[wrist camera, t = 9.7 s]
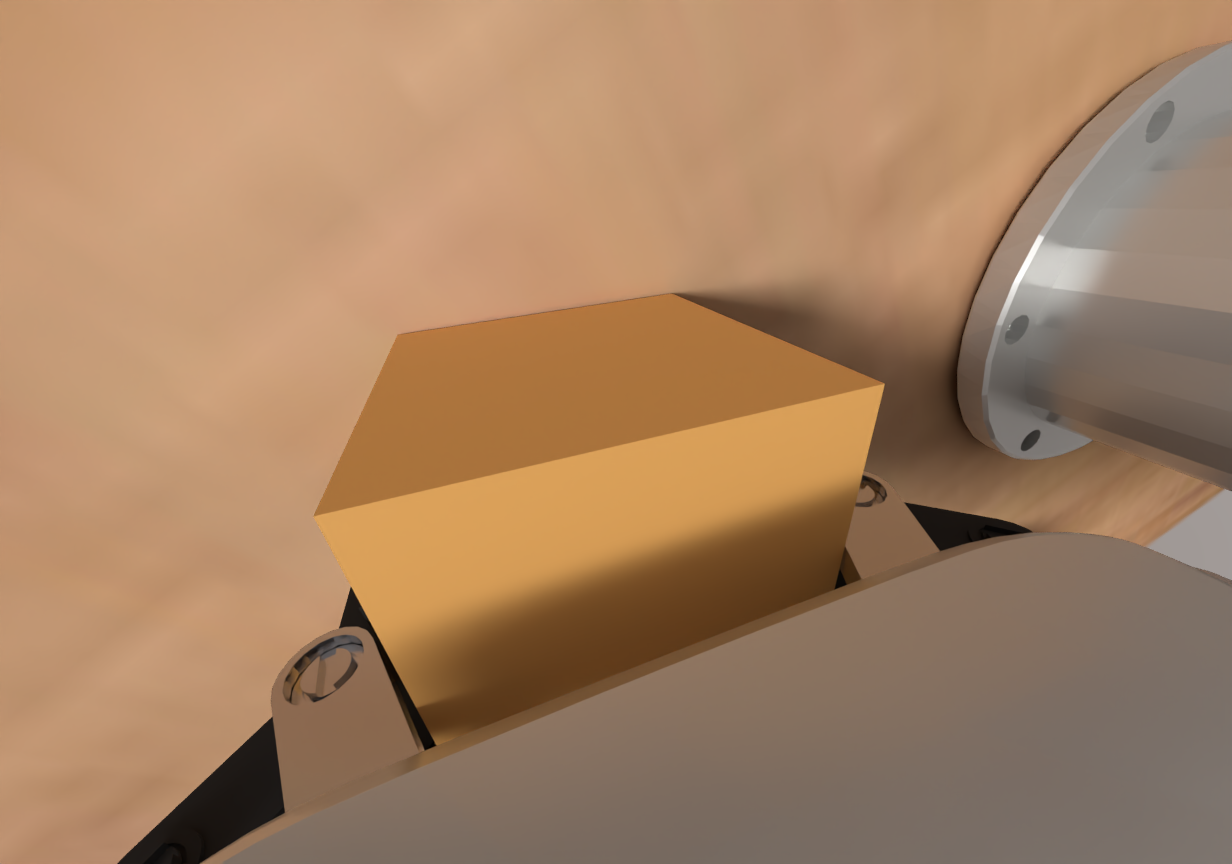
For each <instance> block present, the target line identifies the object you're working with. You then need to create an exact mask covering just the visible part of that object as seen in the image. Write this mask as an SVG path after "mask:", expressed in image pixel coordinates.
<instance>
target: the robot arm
mask: <svg viewBox="0 0 1232 864" xmlns="http://www.w3.org/2000/svg"><path fill="white" fill-rule="evenodd" d="M957 397H958V402H959V405H960V409H961V413H962V417H963V421H964V423H965V424H966V426H967V427H968V429H969V430H970V432H971V434H972V435H973V437H975V438H976V439H978V440H979V441H980V442H982V443H983V444H985V445H986V446H988V447H990V448H992V449H994V450H997V451H999V452H1001V453H1003V454H1006V455H1008V456H1010V457H1012V458H1015V459H1023V460H1039V459H1045V458H1050V457H1055V456H1060V455H1062V454H1065V453H1067V452H1070V451H1072V450H1075V449H1078V448H1080V447H1082V446H1084V445H1086V444H1088V443H1089V442H1091V441H1093V440H1094V441H1097V442H1100V443H1103V444H1105V445H1108V446H1111V447H1113V448H1116V449H1119V450H1121V451H1124V452H1127V453H1130V454H1132V455H1135V456H1138V457H1140V458H1143V459H1146V460H1148V461H1151V462H1154V463H1157V464H1159V465H1162V466H1165V467H1167V468H1170V469H1173V470H1175V471H1178V472H1181V473H1184V474H1186V475H1189V476H1192V477H1194V478H1197V479H1200V480H1202V481H1205V482H1208V483H1211V484H1213V485H1216V486H1219V487H1221V488H1224V489H1227V490H1229V491H1232V40H1231V41H1227V42H1222V43H1217V44H1213V45H1208V46H1203V47H1198V48H1195V49H1193V50H1191V51H1189V52H1186V53H1184V54H1182V55H1180V56H1177V57H1175V58H1173V59H1171V60H1169V61H1166V62H1164V63H1162V64H1161V65H1159V66H1158V67H1156V68H1155V69H1153V70H1152V71H1150V72H1149V73H1148V74H1146V75H1145V76H1143V77H1142V78H1140V79H1139V80H1138V81H1136V82H1135V83H1133V84H1132V85H1130V86H1129V87H1127V88H1126V89H1125V90H1124V91H1122V92H1121V93H1120V94H1119V95H1118V96H1117V97H1116V98H1115V99H1114V100H1113V101H1112V102H1111V103H1110V104H1108V105H1107V106H1106V107H1105V108H1104V109H1103V110H1102V111H1101V112H1100V113H1099V114H1098V115H1097V116H1095V117H1094V118H1093V119H1092V120H1091V121H1090V122H1089V123H1088V124H1087V125H1086V126H1085V127H1084V128H1083V129H1082V130H1081V131H1080V132H1079V133H1078V134H1077V136H1076V137H1075V138H1074V139H1073V140H1072V141H1071V142H1070V144H1069V145H1068V146H1067V147H1066V148H1065V149H1064V151H1063V152H1062V153H1061V154H1060V155H1059V156H1058V158H1057V159H1056V160H1055V161H1054V162H1053V163H1052V165H1051V166H1050V167H1049V168H1048V169H1047V171H1046V172H1045V174H1044V175H1043V176H1042V178H1041V179H1040V181H1039V182H1038V184H1037V185H1036V186H1035V188H1034V189H1033V191H1032V192H1031V194H1030V195H1029V196H1028V198H1027V199H1026V201H1025V202H1024V204H1023V205H1022V206H1021V208H1020V209H1019V211H1018V212H1017V214H1016V216H1015V217H1014V219H1013V221H1012V223H1011V225H1010V226H1009V228H1008V230H1007V232H1006V233H1005V235H1004V237H1003V239H1002V240H1001V242H1000V244H999V246H998V248H997V249H996V251H995V253H994V255H993V257H992V259H991V261H990V263H989V266H988V268H987V270H986V272H985V275H984V277H983V279H982V282H981V284H980V286H979V288H978V291H977V293H976V295H975V298H974V301H973V304H972V307H971V310H970V314H969V317H968V320H967V323H966V327H965V330H964V333H963V336H962V343H961V349H960V355H959V361H958V367H957ZM271 707H272V715H273V717H272V718H271V719H269V720H268V721H267V722H266V723H265V724H264V725H263V726H262V727H261V728H260V729H259V730H258V731H257V732H256V733H255V734H254V735H253V736H251V737H250V738H249V739H248V740H247V741H246V742H245V743H244V744H243V745H242V746H241V747H240V748H239V749H238V750H237V751H236V752H234V753H233V754H232V755H231V756H230V757H229V758H228V759H227V760H226V761H225V762H224V763H223V764H222V765H221V766H220V767H219V768H217V769H216V770H215V771H214V772H213V773H212V774H211V775H210V776H209V777H208V778H207V779H206V780H205V781H204V782H203V783H202V784H201V785H199V786H198V787H197V788H196V789H195V790H194V791H193V792H192V793H191V794H190V795H189V796H188V797H187V798H186V799H185V800H184V801H182V802H181V803H180V804H179V805H178V806H177V807H176V808H175V809H174V810H173V811H172V812H171V813H170V814H169V815H168V816H167V817H166V818H164V819H163V820H162V821H161V822H160V823H159V824H158V825H157V826H156V827H155V828H154V829H153V830H152V831H151V832H150V833H149V834H147V835H146V836H145V837H144V838H143V839H142V840H141V841H140V842H139V843H138V844H137V845H136V846H135V847H134V848H133V849H132V850H130V851H129V852H128V853H127V854H126V855H125V856H124V857H123V858H122V859H121V860H120V862H119V863H118V864H1232V580H1230V579H1227V578H1224V577H1222V576H1220V575H1218V574H1215V573H1213V572H1210V571H1206V570H1202V569H1198V568H1195V567H1191V566H1189V565H1186V564H1184V563H1182V562H1180V561H1177V560H1175V559H1173V558H1170V557H1168V556H1166V555H1163V554H1161V553H1158V552H1156V551H1154V550H1151V549H1149V548H1146V547H1143V546H1141V545H1138V544H1135V543H1132V542H1129V541H1126V540H1122V539H1118V538H1113V537H1109V536H1102V535H1095V534H1085V533H1071V532H1032V531H1030V530H1028V529H1027V528H1024V527H1022V526H1019V525H1017V524H1014V523H1011V522H1007V521H1003V520H999V519H994V518H988V517H983V516H977V515H972V514H966V513H960V512H955V511H949V510H944V509H938V508H932V507H927V506H921V505H916V504H910V503H904V502H903V500H902V499H901V498H900V496H899V495H898V494H897V492H896V491H895V490H894V488H893V487H892V486H891V485H890V484H889V483H888V482H887V481H886V480H884V479H882V478H880V477H879V476H877V475H875V474H872V473H869V472H866V471H863V475H862V479H861V483H860V487H859V491H858V495H857V499H856V503H855V507H854V512H853V516H852V520H851V524H850V528H849V532H848V536H847V540H846V544H845V548H844V552H843V556H842V560H841V564H840V568H839V573H838V577H837V581H836V585H835V589H834V590H832V591H830V592H827V593H825V594H822V595H819V596H817V597H814V598H811V599H809V600H806V601H804V602H801V603H798V604H796V605H793V606H791V607H788V608H785V609H783V610H780V611H778V612H775V613H772V614H770V615H767V616H765V617H762V618H759V619H757V620H754V621H752V622H749V623H746V624H744V625H741V626H739V627H736V628H734V629H731V630H728V631H726V632H723V633H721V634H718V635H716V636H713V637H710V638H708V639H705V640H703V641H700V642H698V643H695V644H692V645H690V646H687V647H685V648H682V649H680V650H677V651H674V652H672V653H669V654H667V655H664V656H662V657H659V658H657V659H654V660H651V661H649V662H646V663H644V664H641V665H639V666H636V667H634V668H631V669H628V670H626V671H623V672H621V673H618V674H616V675H613V676H611V677H608V678H605V679H603V680H600V681H598V682H595V683H593V684H590V685H588V686H585V687H583V688H580V689H578V690H575V691H573V692H570V693H568V694H565V695H563V696H560V697H557V698H555V699H552V700H550V701H547V702H545V703H542V704H540V705H537V706H535V707H532V708H530V709H527V710H525V711H522V712H520V713H517V714H515V715H512V716H510V717H507V718H504V719H502V720H499V721H497V722H494V723H492V724H489V725H487V726H484V727H482V728H479V729H477V730H474V731H472V732H469V733H467V734H464V735H462V736H459V737H457V738H454V739H452V740H449V741H447V742H445V743H442V744H440V745H436V744H435V742H434V740H433V738H432V736H431V734H430V732H429V731H428V729H427V727H426V725H425V723H424V721H423V719H422V717H421V716H420V714H419V712H418V710H417V708H416V706H415V704H414V703H413V701H412V699H411V697H410V695H409V693H408V691H407V690H406V688H405V686H404V684H403V682H402V680H401V678H400V677H399V675H398V673H397V671H396V669H395V667H394V665H393V664H392V662H391V660H390V658H389V656H388V654H387V652H386V651H385V649H384V647H383V645H382V643H381V641H380V639H379V638H378V636H377V634H376V632H375V630H374V628H373V626H372V624H371V623H370V621H369V619H368V617H367V615H366V613H365V611H364V610H363V608H362V606H361V604H360V602H359V600H358V598H357V597H356V595H355V593H354V591H353V589H352V587H351V588H350V592H349V595H348V599H347V602H346V606H345V609H344V613H343V616H342V620H341V624H340V627H339V629H336V630H332V631H330V632H328V633H326V634H324V635H322V636H320V637H318V638H316V639H314V640H313V641H312V642H310V643H309V644H307V645H306V646H304V647H303V648H302V649H301V650H300V651H299V652H297V653H296V654H295V655H294V656H293V657H292V658H291V659H290V660H289V661H288V663H287V664H286V665H285V667H284V668H283V669H282V671H281V672H280V673H279V675H278V677H277V679H276V681H275V683H274V685H273V688H272V694H271Z"/></svg>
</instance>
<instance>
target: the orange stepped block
mask: <svg viewBox="0 0 1232 864" xmlns="http://www.w3.org/2000/svg"><path fill="white" fill-rule="evenodd" d="M884 386H885V384H884V383H882V382H880V381H877V380H875V379H873V378H870V377H868V376H866V375H863V374H861V373H858V372H856V371H854V370H851V369H849V368H847V367H844V366H842V365H840V364H837V363H835V362H832V361H830V360H828V359H825V358H823V357H821V356H818V355H816V354H814V353H811V352H809V351H806V350H804V349H802V348H799V347H797V346H795V345H792V344H790V343H788V342H785V341H783V340H780V339H778V338H776V337H773V336H771V335H769V334H766V333H764V332H762V331H759V330H757V329H754V328H752V327H750V326H747V325H745V324H743V323H740V322H738V321H736V320H733V319H731V318H728V317H726V316H724V315H721V314H719V313H717V312H714V311H712V310H710V309H707V308H705V307H702V306H700V305H698V304H695V303H693V302H691V301H688V300H686V299H684V298H681V297H679V296H676V295H674V294H666V295H659V296H652V297H646V298H639V299H632V300H626V301H619V302H612V303H606V304H599V305H592V306H586V307H579V308H572V309H566V310H559V311H553V312H546V313H539V314H533V315H526V316H519V317H513V318H506V319H499V320H493V321H486V322H479V323H473V324H466V325H460V326H453V327H446V328H440V329H433V330H426V331H420V332H413V333H406V334H400V335H397V338H396V340H395V342H394V344H393V346H392V348H391V350H390V353H389V355H388V357H387V359H386V361H385V363H384V366H383V368H382V370H381V372H380V374H379V376H378V378H377V381H376V383H375V385H374V387H373V389H372V391H371V394H370V396H369V398H368V400H367V402H366V404H365V406H364V409H363V411H362V413H361V415H360V417H359V419H358V421H357V424H356V426H355V428H354V430H353V432H352V434H351V437H350V439H349V441H348V443H347V445H346V447H345V449H344V452H343V454H342V456H341V458H340V460H339V462H338V465H337V467H336V469H335V471H334V473H333V475H332V477H331V480H330V482H329V484H328V486H327V488H326V490H325V493H324V495H323V497H322V499H321V501H320V503H319V505H318V508H317V510H316V512H315V514H314V516H313V517H314V518H315V520H316V522H317V524H318V526H319V528H320V530H321V531H322V533H323V535H324V537H325V539H326V541H327V543H328V545H329V546H330V548H331V550H332V552H333V554H334V556H335V558H336V559H337V561H338V563H339V565H340V567H341V569H342V571H343V572H344V574H345V576H346V578H347V580H348V582H349V584H350V585H351V587H352V589H353V591H354V593H355V595H356V597H357V598H358V600H359V602H360V604H361V606H362V608H363V610H364V611H365V613H366V615H367V617H368V619H369V621H370V623H371V624H372V626H373V628H374V630H375V632H376V634H377V636H378V638H379V639H380V641H381V643H382V645H383V647H384V649H385V651H386V652H387V654H388V656H389V658H390V660H391V662H392V664H393V665H394V667H395V669H396V671H397V673H398V675H399V677H400V678H401V680H402V682H403V684H404V686H405V688H406V690H407V691H408V693H409V695H410V697H411V699H412V701H413V703H414V704H415V706H416V708H417V710H418V712H419V714H420V716H421V717H422V719H423V721H424V723H425V725H426V727H427V729H428V731H429V732H430V734H431V736H432V738H433V740H434V742H435V744H436V745H440V744H442V743H445V742H447V741H449V740H452V739H454V738H457V737H459V736H462V735H464V734H467V733H469V732H472V731H474V730H477V729H479V728H482V727H484V726H487V725H489V724H492V723H494V722H497V721H499V720H502V719H504V718H507V717H510V716H512V715H515V714H517V713H520V712H522V711H525V710H527V709H530V708H532V707H535V706H537V705H540V704H542V703H545V702H547V701H550V700H552V699H555V698H557V697H560V696H563V695H565V694H568V693H570V692H573V691H575V690H578V689H580V688H583V687H585V686H588V685H590V684H593V683H595V682H598V681H600V680H603V679H605V678H608V677H611V676H613V675H616V674H618V673H621V672H623V671H626V670H628V669H631V668H634V667H636V666H639V665H641V664H644V663H646V662H649V661H651V660H654V659H657V658H659V657H662V656H664V655H667V654H669V653H672V652H674V651H677V650H680V649H682V648H685V647H687V646H690V645H692V644H695V643H698V642H700V641H703V640H705V639H708V638H710V637H713V636H716V635H718V634H721V633H723V632H726V631H728V630H731V629H734V628H736V627H739V626H741V625H744V624H746V623H749V622H752V621H754V620H757V619H759V618H762V617H765V616H767V615H770V614H772V613H775V612H778V611H780V610H783V609H785V608H788V607H791V606H793V605H796V604H798V603H801V602H804V601H806V600H809V599H811V598H814V597H817V596H819V595H822V594H825V593H827V592H830V591H832V590H834V589H835V585H836V581H837V577H838V573H839V568H840V564H841V560H842V556H843V552H844V548H845V544H846V540H847V536H848V532H849V528H850V524H851V520H852V516H853V512H854V507H855V503H856V499H857V495H858V491H859V487H860V483H861V479H862V475H863V471H864V467H865V463H866V459H867V455H868V451H869V447H870V442H871V438H872V434H873V430H874V426H875V422H876V418H877V414H878V410H879V406H880V402H881V398H882V394H883V390H884Z"/></svg>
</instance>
